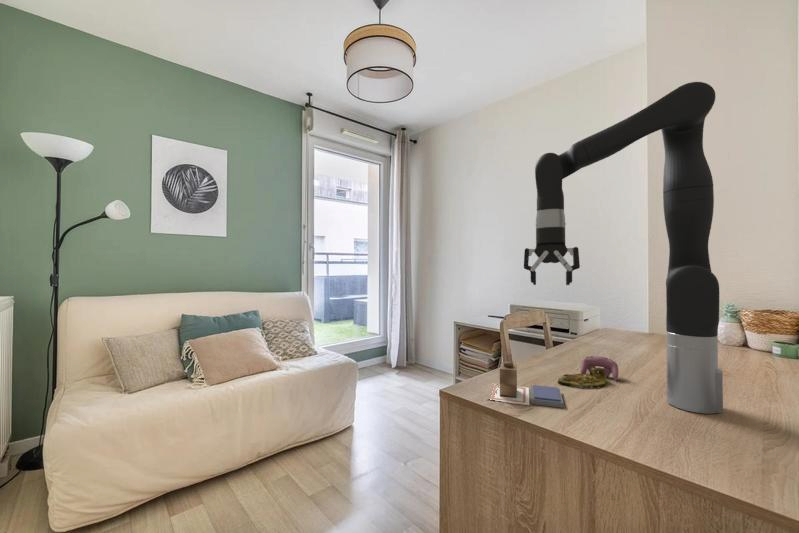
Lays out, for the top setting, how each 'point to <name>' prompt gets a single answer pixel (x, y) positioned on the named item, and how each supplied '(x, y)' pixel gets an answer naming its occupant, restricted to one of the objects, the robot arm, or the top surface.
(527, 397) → the paper sheet
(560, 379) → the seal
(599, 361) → the video game controller
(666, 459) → the top surface
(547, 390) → the ink pad
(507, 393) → the stamp
